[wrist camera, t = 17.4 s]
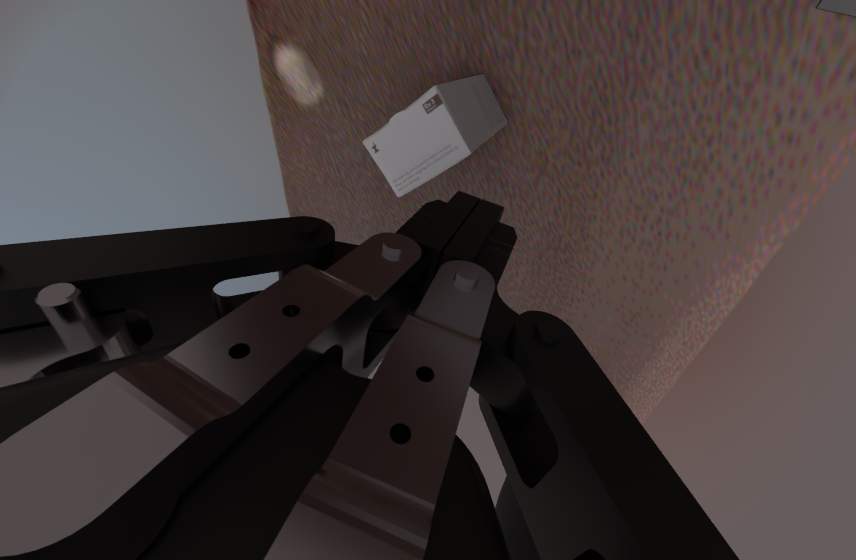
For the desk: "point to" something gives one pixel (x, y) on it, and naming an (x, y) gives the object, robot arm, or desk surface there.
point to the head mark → (839, 6)
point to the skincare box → (436, 132)
